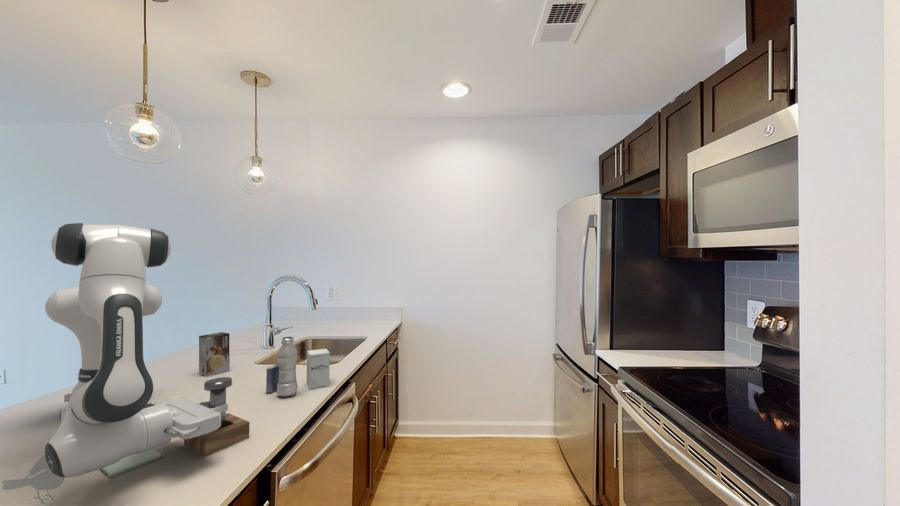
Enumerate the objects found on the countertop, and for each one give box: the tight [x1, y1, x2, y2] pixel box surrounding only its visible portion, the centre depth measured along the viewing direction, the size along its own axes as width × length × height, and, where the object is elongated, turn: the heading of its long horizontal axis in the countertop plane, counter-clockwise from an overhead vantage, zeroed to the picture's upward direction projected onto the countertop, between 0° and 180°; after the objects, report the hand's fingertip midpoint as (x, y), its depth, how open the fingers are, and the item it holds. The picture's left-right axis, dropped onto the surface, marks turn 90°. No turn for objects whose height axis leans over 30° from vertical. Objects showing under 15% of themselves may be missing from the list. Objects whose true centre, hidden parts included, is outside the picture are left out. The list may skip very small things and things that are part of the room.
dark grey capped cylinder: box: [203, 376, 233, 432], centre depth 89 cm, size 6×6×15 cm
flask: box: [265, 359, 279, 394], centre depth 125 cm, size 9×3×11 cm, turn 151°
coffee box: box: [198, 331, 230, 377], centre depth 144 cm, size 9×6×16 cm
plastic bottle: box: [276, 336, 299, 398], centre depth 119 cm, size 6×7×20 cm
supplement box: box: [306, 348, 331, 390], centre depth 130 cm, size 7×7×13 cm
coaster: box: [99, 448, 162, 478], centre depth 80 cm, size 9×9×1 cm
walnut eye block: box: [183, 412, 251, 457], centre depth 89 cm, size 10×10×4 cm
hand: (221, 404), depth 90 cm, fingers closed on dark grey capped cylinder, 3 cm apart
